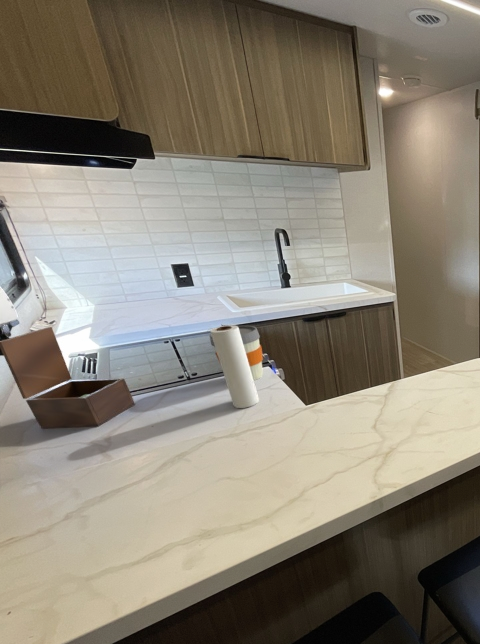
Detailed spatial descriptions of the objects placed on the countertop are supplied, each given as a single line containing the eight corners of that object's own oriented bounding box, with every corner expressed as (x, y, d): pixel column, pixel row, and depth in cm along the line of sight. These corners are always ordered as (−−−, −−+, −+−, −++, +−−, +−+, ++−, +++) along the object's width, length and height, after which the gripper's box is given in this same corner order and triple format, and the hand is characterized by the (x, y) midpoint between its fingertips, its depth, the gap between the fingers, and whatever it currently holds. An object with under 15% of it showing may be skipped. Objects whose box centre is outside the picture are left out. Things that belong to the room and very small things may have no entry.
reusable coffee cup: (272, 379, 124) (260, 332, 118) (224, 389, 117) (208, 340, 111) (266, 366, 133) (255, 322, 127) (222, 375, 126) (207, 330, 120)
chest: (135, 404, 109) (124, 378, 106) (98, 426, 99) (84, 398, 96) (83, 406, 109) (71, 380, 106) (41, 428, 98) (25, 400, 95)
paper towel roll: (252, 408, 106) (229, 331, 98) (229, 409, 106) (204, 331, 97) (265, 396, 113) (245, 322, 104) (243, 397, 112) (221, 323, 104)
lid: (51, 326, 100) (48, 326, 100) (0, 342, 89) (-3, 341, 89) (71, 378, 105) (68, 378, 105) (26, 398, 95) (22, 398, 95)
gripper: (-16, 272, 96) (23, 344, 103) (-99, 284, 82) (-47, 367, 89) (17, 271, 96) (53, 343, 103) (-60, 283, 82) (-12, 365, 90)
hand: (6, 354), depth 96 cm, fingers closed
